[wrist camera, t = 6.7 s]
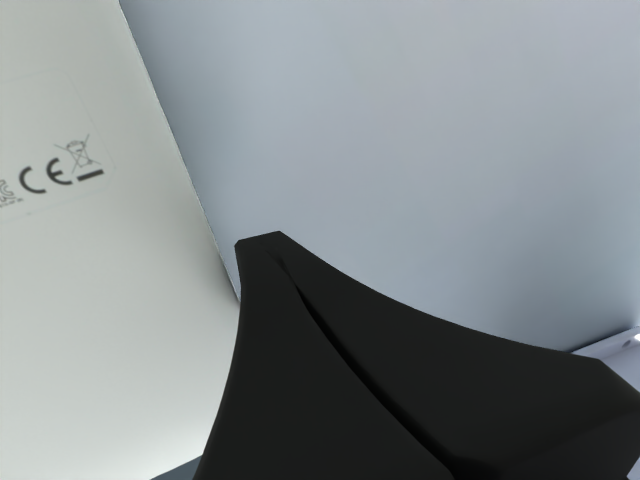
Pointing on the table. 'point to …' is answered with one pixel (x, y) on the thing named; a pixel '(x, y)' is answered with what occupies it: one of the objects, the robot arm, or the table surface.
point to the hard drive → (100, 259)
